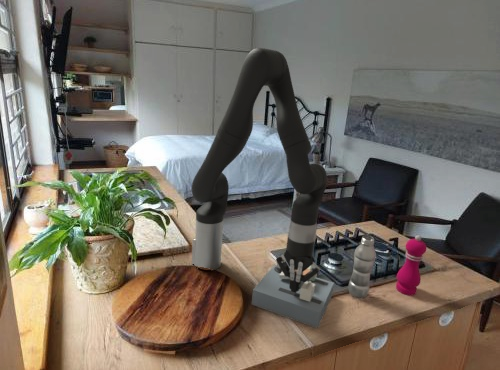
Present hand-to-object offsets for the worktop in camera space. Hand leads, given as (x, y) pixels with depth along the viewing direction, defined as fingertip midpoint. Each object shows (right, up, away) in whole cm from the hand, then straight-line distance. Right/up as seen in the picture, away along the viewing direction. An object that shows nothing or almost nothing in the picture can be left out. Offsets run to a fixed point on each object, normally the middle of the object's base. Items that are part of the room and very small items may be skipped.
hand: (294, 290), depth 102 cm
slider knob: (+3, -2, -1) cm, 4 cm away
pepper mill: (+39, -5, +17) cm, 43 cm away
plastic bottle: (+22, -5, +12) cm, 25 cm away
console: (0, -5, +6) cm, 7 cm away
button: (-3, +3, +13) cm, 13 cm away
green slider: (+6, +1, +9) cm, 11 cm away
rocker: (+1, +3, +6) cm, 7 cm away
